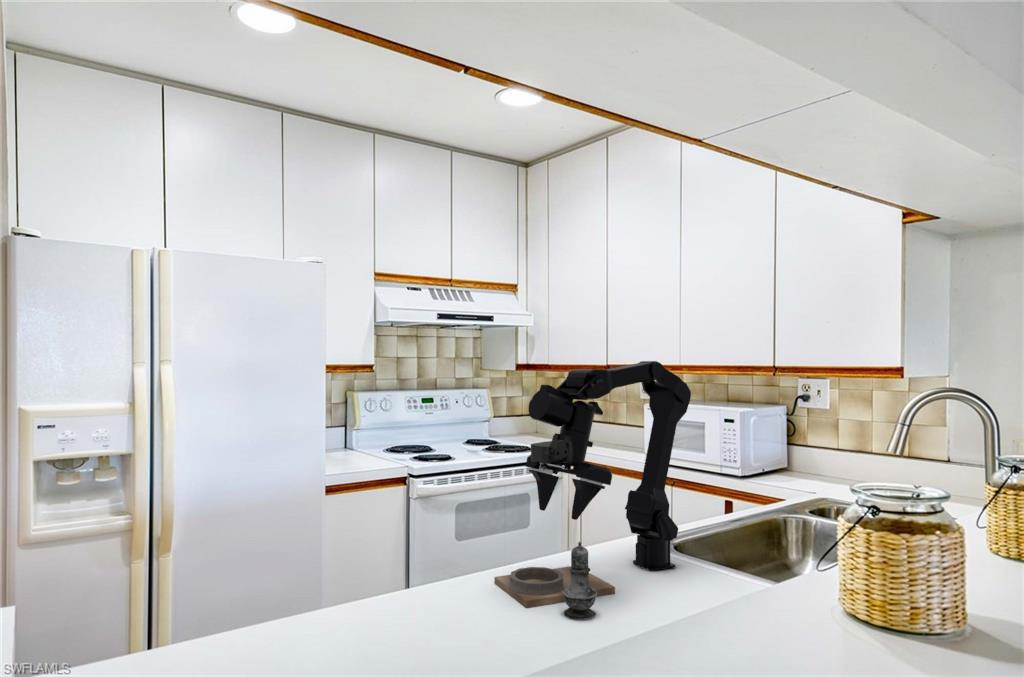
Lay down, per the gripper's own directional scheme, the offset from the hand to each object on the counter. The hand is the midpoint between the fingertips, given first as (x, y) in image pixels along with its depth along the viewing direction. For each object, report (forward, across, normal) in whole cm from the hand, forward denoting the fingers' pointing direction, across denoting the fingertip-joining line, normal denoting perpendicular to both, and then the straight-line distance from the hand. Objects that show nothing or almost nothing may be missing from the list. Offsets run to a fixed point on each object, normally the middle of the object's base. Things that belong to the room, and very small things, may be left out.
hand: (557, 514), depth 119 cm
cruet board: (+13, -1, +4) cm, 14 cm away
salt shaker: (+15, +11, 0) cm, 18 cm away
